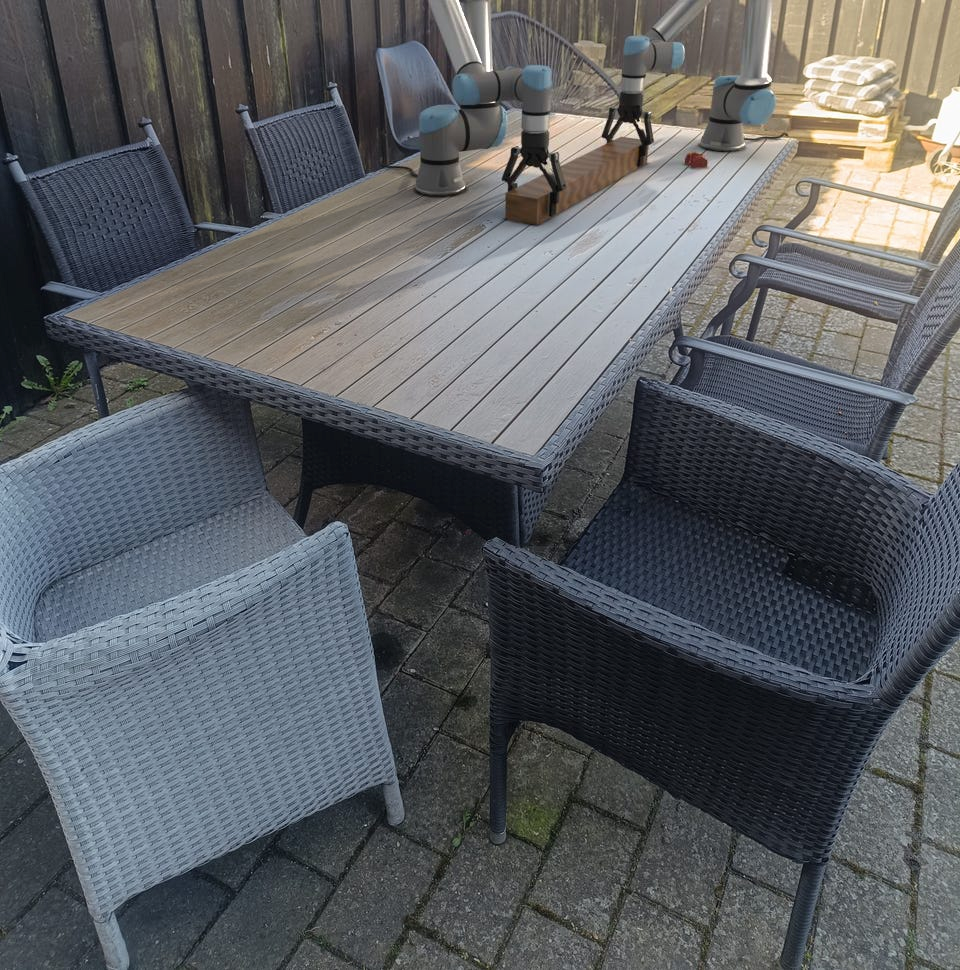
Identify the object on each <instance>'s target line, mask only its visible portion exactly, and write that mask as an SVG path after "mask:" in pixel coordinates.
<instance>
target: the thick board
mask: <svg viewBox="0 0 960 970" xmlns="http://www.w3.org/2000/svg"><path fill="white" fill-rule="evenodd" d="M612 140H613V141H611V142H609V143H607V142H606V143H607V144H606V143H605V144H603V145H601V146H599V147H597V148H595V149H593V150H591V151H588V152H586V153H585V154H582V155H580V156H578V157H576V158H574V159H572V160H570V161H568V162H566V163H563V164H561V165H560V166H561V169H562V173H563V176H564V179H565V183H566V186H567V188H566V189H565V190H563V191H560V197H559V203H558V204H556V214H555V215H553V216H549V204H550V192H552V189H551V187H550V185H549V183H548V181H547V180H546V178H545V176H544V174H543V173H542V174H541V175H539V176H537V177H535V178H533V179H531V180H529V181H527V182H525V183H523V184H521V185H518V186H517V188H514V189H512V190H510V191H508V190H507V191H506V192H505V200H504V201H505V204H504V205H505V207H504V219H505V220H508V221H513V222H518V223H522V224H528V225H533V226H538V225H540V224H542V223H543V222H546V221H547V220H549V219H551V218H553V217H554V216H556V215H558V214H560V213H561V212H563V211H565V210H566V209H569V208H570V207H572V206H574V205H575V204H577V203H579V202H581V201H583V200H584V199H587V198H588V197H590V196H592V195H593V194H595V193H597V192H599V191H600V190H602V189H604V188H605V187H607V186H609V185H611V184H614V182H616V181H618V180H621V178H624V177H626V176H627V175H628V174H631V173H632V172H634V171H635V170H638V169H639V168H640V167H637V166H638V157H639V147H640V146H641V145H642V143H641V141H640V138H634V137H629V136H628V137H627V136H619V137H618V138H615V139H612ZM649 146H650V145H648V147H647V154H646V156H644V159H643V165H642V166H641V167H643V166H644V165H646V164H648V155H649V148H650V147H649ZM551 171H552V173H553V174H554V172H553V169H551Z"/></svg>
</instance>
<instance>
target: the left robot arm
mask: <svg viewBox="0 0 960 970" xmlns="http://www.w3.org/2000/svg"><path fill="white" fill-rule="evenodd" d="M424 1H425V2H427V3H428V4H429V6H430V7H429V8H430V9H431V12H432V15H433V17H434V20H435V23H436V26H437V28H438V30H439V33H440V37H441V39H442V41H443V44H444V46H445V49H446V51H447V54H448V57H449V60H450V62H451V66H452V68H453V70H454V73H455V76H454V77H453V79H452V84H451V85H452V93H453V95H452V96H453V98H454V101H455V102H456V103H457V104H458V105H460V107H459V108H460V109H459V108H458V106H457V105H455V104H449V103H448V104H438V105H433V106H430V107H427V108H425V109H424V110H422V111H421V112H420V114H419V116H418V118H419V119H418V120H419V121H418V136H419V138H418V139H419V157H420V158H419V159H420V161H419V162H420V164H419V168H418V172H417V173H415V172H414V170H413V168H411V167H408V166H402V165H389V164H388V165H387V164H384V163H382V162H383V157H382V156H380V157H379V160H378V164H379V165H380V167H382V168H386V169H401V170H408V171H410V173H411V175H412V177H415V178H416V180H415V192H417V193H418V194H420V195H424V196H430V197H450V196H455V195H459V194H461V193H463V192H464V191H466V181H465V179H464V176H463V172H462V169H461V165H460V153H462V152H470V151H477V150H478V151H479V150H489V149H492V148H497V147H499V146H500V145H502V143H503V141H504V140H505V138H506V136H507V132H508V115H507V111H506V109H505V108H504V106H502V105H500V103H501V102H508V101H509V102H510V101H518V102H520V103H521V124H520V125H521V126H520V127H521V133H520V135H521V136H520V145H521V147H519V145H515V146H512V147H511V148H510V156H509V159H508V161H507V163H506V166H505V168H504V171H503V174H502V176H501V181H502V182H505V183H506V184H507V192H508V191H510V190H512V189H514V188H517V187H518V183H517V179H519V177H520V176H521V174H522V173H523V171H524V170H525V169H526V167H533V168H536V169H538V168H539V171H541V172H542V175H543V174H544V176H545V178H546V180H547V181H548V183H549V185H550V187H551V189H552V192H550V204H549V216H553V215H554V216H556V215H557V214H556V204H558V203H559V197H560V191H563V190H565V189H566V188H567V186H566V183H565V179H564V176H563V173H562V169H561V166H562V165H561V163H560V153H559V152H558V151H554V152H550V151H549V146H550V131H549V130H550V125H551V105H552V87H553V81H552V69H551V67H550V66H548V65H542V64H529V65H525V66H524V67H523V68H521V67H519V66H508V67H505V68H504V69H501V70H494V69H493V68H494V67H493V39H492V14H491V13H492V12H491V1H492V0H424ZM519 156H521V157H522V159H521V160H520V162H519V163H518V166H516V168H515V165H516V163H517V160H518V158H519ZM548 160H549V161H548ZM549 162H550V163H549ZM514 168H515V170H514ZM551 168H552V169H551ZM513 170H514V171H513ZM551 170H553V172H554V174H553V173H552V171H551ZM555 214H556V215H555ZM554 216H553V217H554Z"/></svg>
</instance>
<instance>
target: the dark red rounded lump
mask: <svg viewBox="0 0 960 970" xmlns="http://www.w3.org/2000/svg"><path fill="white" fill-rule="evenodd" d="M683 162H684V165H686V164H690V168H691V169H699V168H707V167H708V164H709V163H708V159H707V158H706V155H704V154H702V153H699V152H697V151H691V152H689V153H687V154H686V155H685V157H684V161H683Z"/></svg>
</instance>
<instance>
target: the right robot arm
mask: <svg viewBox="0 0 960 970" xmlns="http://www.w3.org/2000/svg"><path fill="white" fill-rule="evenodd" d="M712 1H713V0H677V1H676V2H675V3H674V4H673V5H672V7H670V8H669V9H668V11H666V12H665V13H664V15H662V16H661V18H659V20H658V21H657V22H656V23H655V24H654V25H653V26H652V27H651V28H650V29H649V30H648V31H647V32H646V33H645V34H640V35H630V36H627V37H626V38H625V40H624V45H623V51H622V68H621V79H620V87H619V90H620V92H619V99H618V107H616V106H611V107H609V108H608V116H607V120H606V122H605V125H604V128H603V131H602V133H601V138H602V139H604V140H606V143H605V144H607V143H609V142H611V141H613V140H614V138H615V136H616V134H617V132H618V131H619V129H620V128H621V126H622V125H623V123H628V124H632V125H633V127H634V128H635V130H636V133H637V136H638V139H640V141H641V143H642V145H641V146H640V147H639V157H638V166H637V167H639V168H641V167H643V166H644V165H643V159H644V156H646V154H647V147H648V145H649V146H650V145H652V144H654V142H655V139H654V132H653V126H652V120H651V118H652V111H651V110H648V111H646V110H643V104H644V96H645V95H644V94H645V93H644V92H643V91H645V86H646V77H647V71H658V70H674V69H679V68H680V67H681V66H682V65H683V63H684V61H685V53H686V52H685V51H686V50H685V47H684V44H683V43H682V42H680V41H674V39H675V38H676V37H678V35H679V34H680V33H681V32H682V31H683V30H684V29H685V28H686V27H687V26H688V25H689V24H690V23H691V22H692V21H693V20H694V19H695V18H696V17H697V16H698V15H699V14H700V13H701V12H702V11H703V10H704V9H705V8H706V7H707V6H708V5H709V4H710V3H711V2H712ZM774 9H775V0H745V6H744V16H743V18H744V19H743V31H742V32H743V33H742V44H741V54H740V68H739V74H737V75H736V74H735V75H720V76H717V77H716V79H714V83H713V87H712V97H711V104H710V110H709V118H708V123H707V125H706V127H705V130H704V132H703V134H702V136H701V138H700V142H699V145H700V147H702V148H704V149H705V150H706V149H707V150H711V151H715V152H716V151H717V152H736V151H741V150H743V149H744V148H745V143H746V142H745V141H752V142H756V141H759V140H777V139H781V138H783V137H784V136H785V137H789V134H788V133H787V132H782V133H781V134H780V135H778V136H758V137H755V138H753V137H745V136H744V126H743V125H745V126H751V127H756V126H757V127H758V126H760V125H762V124H765V123H766V122H767V121H768V120H769V118H771V116H772V115H773V114H774V111H775V109H776V105H777V97H776V95H775V94H774V92H773V91H772V90H771V88H772V77H771V76H770V75H769V74H768V71H769V70H768V69H769V59H770V51H771V37H772V28H773V19H774ZM617 114H618V115H619V117H618V118H617V120H616V122H615V124H614V126H612V125H613V123H614V120H615V117H616V115H617ZM641 117H642V119H643V123H644V127H643V124H642V120H641ZM648 148H649V147H648ZM642 165H643V166H642Z"/></svg>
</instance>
